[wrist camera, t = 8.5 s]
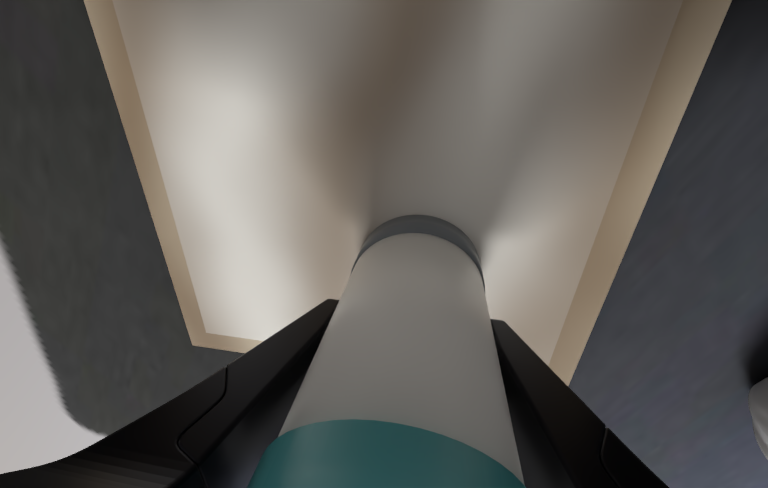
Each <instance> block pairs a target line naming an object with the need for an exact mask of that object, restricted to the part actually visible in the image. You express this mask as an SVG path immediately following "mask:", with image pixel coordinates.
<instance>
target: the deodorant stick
mask: <svg viewBox="0 0 768 488" xmlns="http://www.w3.org/2000/svg"><path fill="white" fill-rule="evenodd" d="M247 488H526V487H525V485H524V480H523V475H522V470H521V465H520V461H519V456H518V451H517V446H516V441H515V436H514V432H513V427H512V422H511V417H510V412H509V407H508V403H507V398H506V393H505V388H504V383H503V378H502V374H501V369H500V364H499V359H498V354H497V349H496V345H495V340H494V335H493V330H492V325H491V320H490V316H489V311H488V306H487V301H486V296H485V283H484V278H483V273H482V268H481V264H480V259H479V255H478V253H477V250H476V248H475V246H474V244H473V243H472V241H471V240H470V239H469V237H468V236H467V235H466V234H465V233H464V232H463V231H462V230H460V229H459V228H458V227H456V226H455V225H453V224H451V223H449V222H448V221H445V220H443V219H440V218H437V217H433V216H428V215H405V216H401V217H397V218H394V219H391V220H389V221H387V222H385V223H383V224H381V225H380V226H378V227H377V228H376V229H375V230H374V231H373V232H371V233H370V235H369V236H368V237H367V238H366V240H365V242H364V244H363V245H362V248H361V250H360V252H359V254H358V256H357V258H356V261H355V263H354V265H353V268H352V270H351V275H350V278H349V280H348V282H347V285H346V287H345V289H344V291H343V293H342V296H341V298H340V300H339V302H338V305H337V307H336V309H335V311H334V313H333V316H332V318H331V320H330V322H329V324H328V327H327V329H326V331H325V333H324V336H323V338H322V340H321V342H320V344H319V347H318V349H317V351H316V353H315V356H314V358H313V360H312V362H311V364H310V367H309V369H308V371H307V373H306V376H305V378H304V380H303V382H302V384H301V387H300V389H299V391H298V393H297V396H296V398H295V400H294V402H293V404H292V407H291V409H290V411H289V413H288V415H287V418H286V420H285V422H284V424H283V427H282V429H281V431H280V433H279V435H278V438H276V439H275V440H274V441H273V442H272V443H271V444H270V445H269V446H268V447H267V448H266V450H265V451H264V453H263V454H262V457H261V459H260V461H259V463H258V465H257V467H256V469H255V472H254V474H253V476H252V478H251V480H250V482H249V484H248V486H247Z"/></svg>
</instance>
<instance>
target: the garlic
mask: <svg viewBox="0 0 768 488" xmlns="http://www.w3.org/2000/svg"><path fill="white" fill-rule="evenodd" d="M748 405H749V410H750V413H751V415H752V421H753V430H754V434H755V437H756V440H757V443H758V445H759V447H760V449H761V450H762V452H763V454H764V455H765V457H766V458H767V459H768V377H767V378H765V379H763V380H762V381H760V382H758V383H757V384H755V385H754V386H753V387H752V388H751V389H750V392H749V395H748Z"/></svg>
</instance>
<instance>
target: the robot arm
mask: <svg viewBox="0 0 768 488" xmlns="http://www.w3.org/2000/svg"><path fill="white" fill-rule="evenodd" d="M338 302H339V300H337V299H327V300H325V301H323V302H322V303H320V304H319V305H317V306H316V307H314V308H313V309H311V310H310V311H308V312H307V313H305V314H304V315H302V316H301V317H299V318H298V319H296V320H295V321H293V322H292V323H290V324H289V325H287V326H286V327H284V328H283V329H281V330H280V331H278V332H277V333H275V334H274V335H272V336H271V337H269V338H268V339H266V340H265V341H263V342H261V343H260V344H258V345H257V346H255V347H254V348H252V349H251V350H249V351H248V352H246V353H245V354H243V355H242V356H240V357H239V358H237V359H236V360H234V361H233V362H231V363H230V364H228V365H227V368H226V367H224V368H222V369H221V370H219V371H217V372H216V373H214V374H213V375H211V376H210V377H208V378H207V379H205V380H204V381H202V382H200V383H199V384H197V385H196V386H194V387H193V388H191V389H189V390H188V391H186V392H184V393H183V394H181V395H179V396H178V397H176V398H174V399H172V400H171V401H169V402H167V403H166V404H164V405H162V406H160V407H159V408H157V409H155V410H153V411H152V412H150V413H148V414H146V415H144V416H143V417H141V418H139V419H137V420H136V421H134V422H132V423H130V424H128V425H127V426H125V427H123V428H121V429H120V430H118V431H116V432H114V433H112V434H111V435H109V436H107V437H105V438H104V439H102V440H100V441H98V442H97V443H95V444H93V445H91V446H89V447H88V448H85V449H83V450H81V451H79V452H77V453H75V454H72V455H70V456H68V457H65V458H63V459H60V460H57V461H55V462H52V463H48V464H45V465H41V466H37V467H33V468H28V469H24V470H19V471H14V472H8V473H4V474H0V488H247V486H248V484H249V482H250V480H251V478H252V476H253V474H254V472H255V469H256V467H257V465H258V463H259V461H260V459H261V457H262V454H263V453H264V451H265V450H266V448H267V447H268V446H269V445H270V444H271V443H272V442H273V441H274V440H275V439H276V438H278V435H279V433H280V431H281V429H282V427H283V424H284V422H285V420H286V418H287V415H288V413H289V411H290V409H291V407H292V404H293V402H294V400H295V398H296V396H297V393H298V391H299V389H300V387H301V384H302V382H303V380H304V378H305V376H306V373H307V371H308V369H309V367H310V364H311V362H312V360H313V358H314V356H315V353H316V351H317V349H318V347H319V344H320V342H321V340H322V338H323V336H324V333H325V331H326V329H327V327H328V324H329V322H330V320H331V318H332V316H333V313H334V311H335V309H336V307H337V305H338ZM490 320H491V325H492V330H493V335H494V340H495V345H496V349H497V354H498V359H499V364H500V369H501V374H502V378H503V383H504V388H505V393H506V398H507V403H508V407H509V412H510V417H511V422H512V427H513V432H514V436H515V441H516V446H517V451H518V456H519V461H520V465H521V470H522V475H523V480H524V485H525V487H526V488H669V487H668V486H667V485H666V484H665V483H664V482H663V481H662V480H660V479H659V478H658V477H657V476H656V475H655V474H654V473H653V472H652V471H651V470H650V469H649V468H648V467H647V466H646V465H645V464H644V463H643V462H642V461H641V460H640V459H639V458H638V457H637V456H636V455H635V454H634V453H633V452H632V451H631V450H630V449H629V448H628V447H627V446H626V445H625V444H624V443H623V442H622V441H621V440H620V439H619V438H618V437H617V436H616V435H615V434H614V433H613V432H612V431H611V430H610V429H609V428H605V427H606V426H605V424H604V423H603V422H602V421H601V420H600V419H599V418H598V417H597V416H596V415H595V414H594V413H593V412H592V411H591V410H590V409H589V408H588V407H587V405H586V404H585V403H584V402H583V401H582V400H581V399H580V398H579V397H578V396H577V395H576V394H575V393H574V392H573V391H572V390H571V389H570V388H569V387H568V386H567V385H566V384H565V383H564V382H563V381H562V380H561V379H560V378H559V377H558V376H557V375H556V374H555V373H554V372H553V370H552V369H551V368H550V367H549V366H548V365H547V364H546V363H545V362H544V361H543V360H542V359H541V358H540V357H539V356H538V355H537V354H536V353H535V352H534V351H533V350H532V349H531V348H530V347H529V346H528V345H527V344H526V343H525V342H524V341H523V340H522V339H521V338H520V337H519V335H518V334H517V333H516V332H515V331H514V330H513V329H512V328H511V327H510V326H509V325H508V324H507V323H506V322H505V321H503V320H497V319H490Z"/></svg>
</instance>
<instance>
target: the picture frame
mask: <svg viewBox="0 0 768 488" xmlns="http://www.w3.org/2000/svg"><path fill="white" fill-rule="evenodd" d="M731 1H732V0H84V3H85V6H86V9H87V12H88V15H89V19H90V22H91V25H92V28H93V31H94V34H95V38H96V41H97V44H98V47H99V50H100V54H101V57H102V60H103V63H104V66H105V69H106V73H107V76H108V79H109V82H110V85H111V88H112V92H113V95H114V98H115V101H116V104H117V107H118V111H119V114H120V117H121V120H122V123H123V126H124V130H125V133H126V136H127V139H128V142H129V146H130V149H131V152H132V155H133V158H134V161H135V165H136V168H137V171H138V174H139V177H140V180H141V184H142V187H143V190H144V193H145V196H146V199H147V203H148V206H149V209H150V212H151V215H152V218H153V222H154V225H155V228H156V231H157V234H158V237H159V241H160V244H161V247H162V250H163V253H164V257H165V260H166V263H167V266H168V269H169V272H170V276H171V279H172V282H173V285H174V288H175V291H176V295H177V298H178V301H179V304H180V307H181V310H182V314H183V317H184V320H185V323H186V326H187V329H188V333H189V336H190V339H191V342H192V345H195V346H201V347H208V348H214V349H221V350H228V351H234V352H241V353H246V352H248V351H249V350H251V349H252V348H254V347H255V346H257V345H258V344H260V343H261V342H263V341H265V340H266V339H268V338H269V337H271V336H272V335H274V334H275V333H277V332H278V331H280V330H281V329H283V328H284V327H286V326H287V325H289V324H290V323H292V322H293V321H295V320H296V319H298V318H299V317H301V316H302V315H304V314H305V313H307V312H308V311H310V310H311V309H313V308H314V307H316V306H317V305H319V304H320V303H322V302H323V301H325V300H327V299H337V300H340V298H341V296H342V293H343V291H344V289H345V287H346V285H347V282H348V280H349V278H350V275H351V270H352V268H353V265H354V263H355V261H356V258H357V256H358V254H359V252H360V250H361V248H362V245H363V244H364V242H365V240H366V238H367V237H368V236H369V235H370V233H371V232H373V231H374V230H375V229H376V228H377V227H378V226H380V225H381V224H383V223H385V222H387V221H389V220H391V219H394V218H397V217H401V216H405V215H428V216H433V217H437V218H440V219H443V220H445V221H448V222H449V223H451V224H453V225H455V226H456V227H458V228H459V229H460V230H462V231H463V232H464V233H465V234H466V235H467V236H468V237H469V239H470V240H471V241H472V243H473V244H474V246H475V248H476V250H477V253H478V255H479V259H480V264H481V268H482V273H483V278H484V283H485V296H486V301H487V306H488V311H489V316H490V319H497V320H503V321H505V322H506V323H507V324H508V325H509V326H510V327H511V328H512V329H513V330H514V331H515V332H516V333H517V334H518V335H519V337H520V338H521V339H522V340H523V341H524V342H525V343H526V344H527V345H528V346H529V347H530V348H531V349H532V350H533V351H534V352H535V353H536V354H537V355H538V356H539V357H540V358H541V359H542V360H543V361H544V362H545V363H546V364H547V365H548V366H549V367H550V368H551V369H552V370H553V372H554V373H555V374H556V375H557V376H558V377H559V378H560V379H561V380H562V381H563V382H564V383H565V384H566V385H567V386H568V385H569V383H570V381H571V378H572V376H573V374H574V371H575V369H576V367H577V364H578V362H579V359H580V357H581V355H582V352H583V350H584V348H585V345H586V343H587V341H588V338H589V336H590V334H591V331H592V329H593V326H594V324H595V322H596V319H597V317H598V315H599V312H600V310H601V308H602V305H603V303H604V301H605V298H606V296H607V294H608V291H609V289H610V286H611V284H612V282H613V279H614V277H615V275H616V272H617V270H618V268H619V265H620V263H621V261H622V258H623V256H624V253H625V251H626V249H627V246H628V244H629V242H630V239H631V237H632V235H633V232H634V230H635V228H636V225H637V223H638V220H639V218H640V216H641V213H642V211H643V209H644V206H645V204H646V202H647V199H648V197H649V195H650V192H651V190H652V187H653V185H654V183H655V180H656V178H657V176H658V173H659V171H660V169H661V166H662V164H663V162H664V159H665V157H666V154H667V152H668V150H669V147H670V145H671V143H672V140H673V138H674V136H675V133H676V131H677V129H678V126H679V124H680V122H681V119H682V117H683V114H684V112H685V110H686V107H687V105H688V103H689V100H690V98H691V96H692V93H693V91H694V89H695V86H696V84H697V81H698V79H699V77H700V74H701V72H702V70H703V67H704V65H705V63H706V60H707V58H708V56H709V53H710V51H711V48H712V46H713V44H714V41H715V39H716V37H717V34H718V32H719V30H720V27H721V25H722V23H723V20H724V18H725V15H726V13H727V11H728V8H729V6H730V4H731Z"/></svg>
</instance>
